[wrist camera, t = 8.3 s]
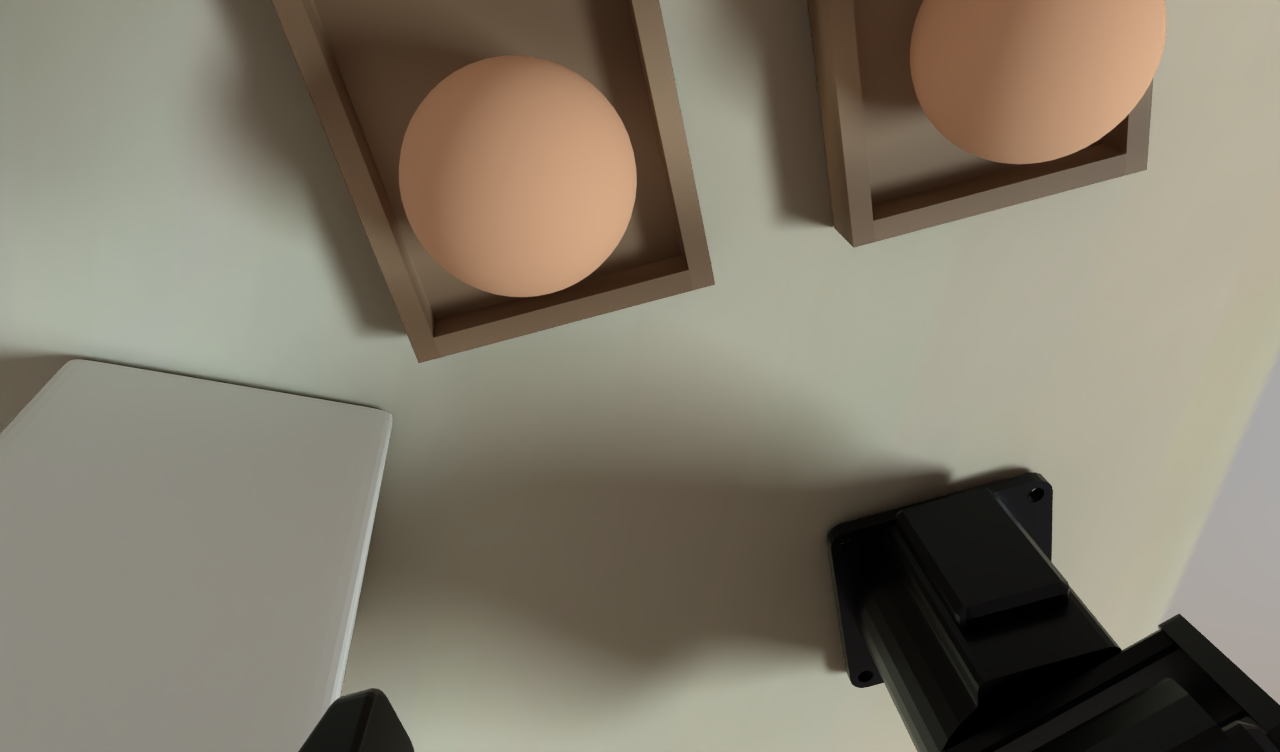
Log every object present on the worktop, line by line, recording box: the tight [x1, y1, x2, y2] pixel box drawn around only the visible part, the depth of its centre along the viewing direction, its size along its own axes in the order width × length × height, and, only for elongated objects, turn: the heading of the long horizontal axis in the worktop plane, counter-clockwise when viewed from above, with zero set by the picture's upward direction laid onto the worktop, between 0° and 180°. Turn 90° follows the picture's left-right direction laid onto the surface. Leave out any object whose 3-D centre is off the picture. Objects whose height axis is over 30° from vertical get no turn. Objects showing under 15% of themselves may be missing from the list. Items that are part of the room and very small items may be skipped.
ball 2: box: [910, 0, 1166, 164], centre depth 17 cm, size 4×4×4 cm
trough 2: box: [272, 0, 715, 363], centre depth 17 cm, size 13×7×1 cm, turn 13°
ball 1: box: [399, 55, 637, 297], centre depth 17 cm, size 4×4×4 cm
